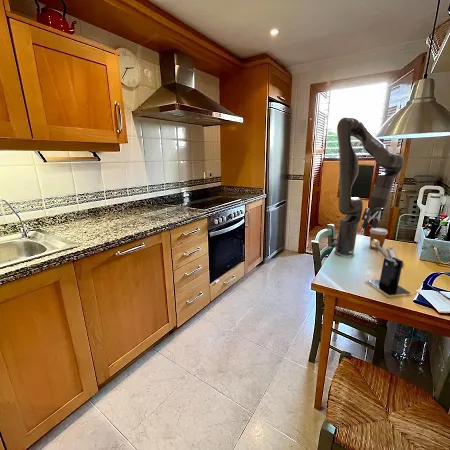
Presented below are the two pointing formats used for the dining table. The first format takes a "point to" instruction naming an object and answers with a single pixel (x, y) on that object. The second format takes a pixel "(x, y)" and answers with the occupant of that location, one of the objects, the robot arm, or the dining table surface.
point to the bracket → (390, 278)
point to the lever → (376, 244)
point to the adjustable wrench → (392, 253)
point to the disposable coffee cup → (378, 236)
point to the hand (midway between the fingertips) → (368, 228)
